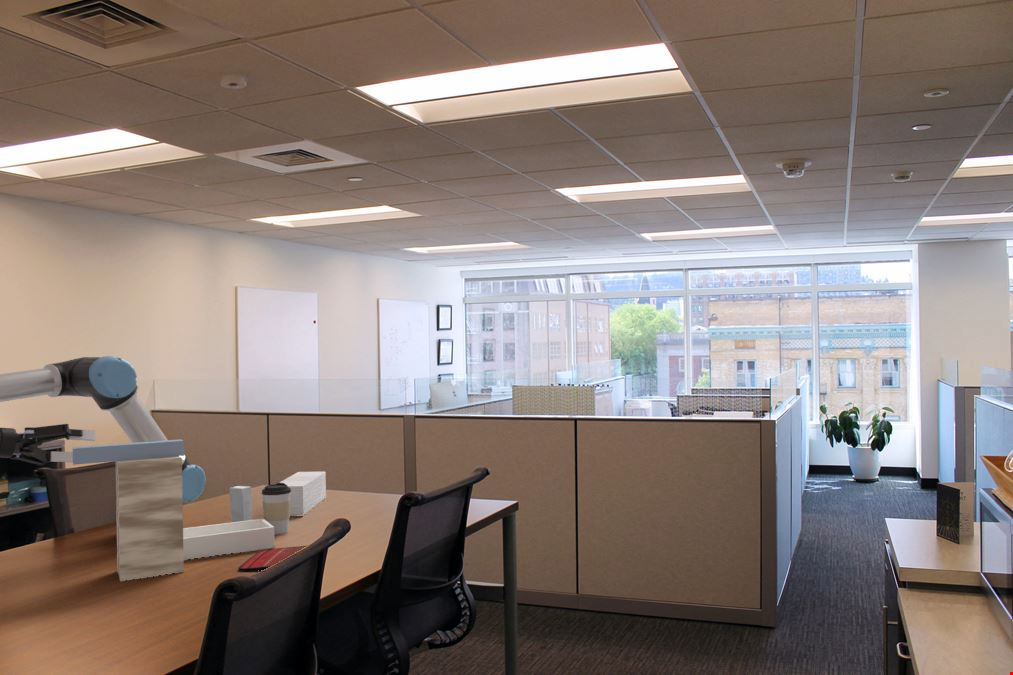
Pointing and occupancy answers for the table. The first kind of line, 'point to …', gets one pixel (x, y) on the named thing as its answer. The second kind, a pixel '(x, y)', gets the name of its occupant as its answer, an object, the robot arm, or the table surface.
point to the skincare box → (240, 503)
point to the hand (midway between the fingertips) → (85, 446)
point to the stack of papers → (305, 491)
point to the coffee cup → (277, 506)
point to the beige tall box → (149, 517)
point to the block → (127, 451)
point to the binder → (268, 558)
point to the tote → (227, 538)
